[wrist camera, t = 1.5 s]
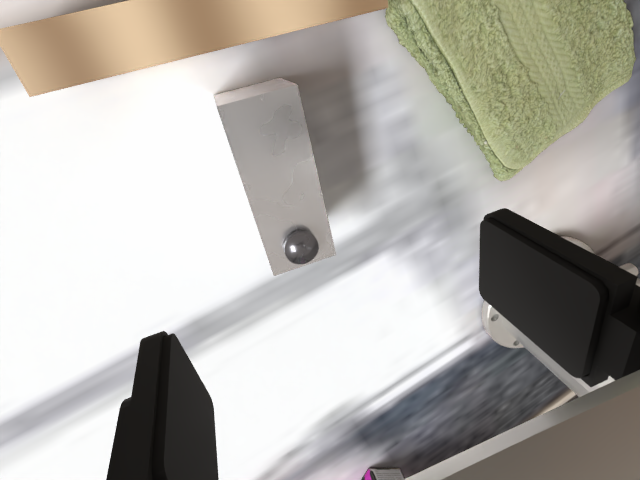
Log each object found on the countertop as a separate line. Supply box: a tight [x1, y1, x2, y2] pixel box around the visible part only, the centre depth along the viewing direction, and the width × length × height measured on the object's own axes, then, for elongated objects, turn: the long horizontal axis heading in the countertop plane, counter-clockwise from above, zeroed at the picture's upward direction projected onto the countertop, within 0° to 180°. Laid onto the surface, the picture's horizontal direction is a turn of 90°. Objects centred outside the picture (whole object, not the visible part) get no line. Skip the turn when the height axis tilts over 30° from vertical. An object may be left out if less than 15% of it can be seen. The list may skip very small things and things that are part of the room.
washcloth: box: [385, 0, 636, 181], centre depth 24 cm, size 13×18×3 cm
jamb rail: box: [0, 0, 389, 97], centre depth 18 cm, size 16×2×5 cm, turn 103°
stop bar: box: [213, 78, 336, 276], centre depth 22 cm, size 4×10×6 cm, turn 13°
